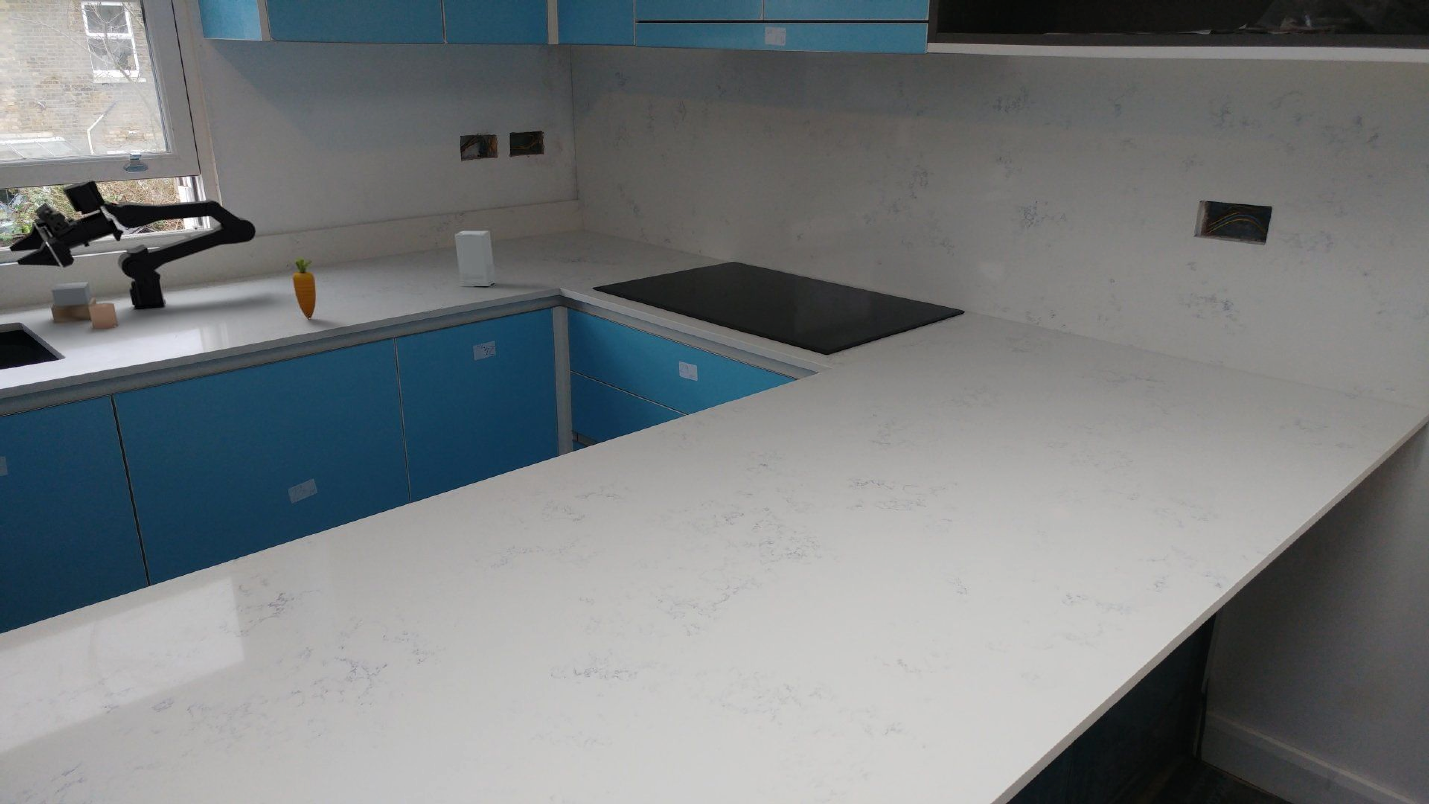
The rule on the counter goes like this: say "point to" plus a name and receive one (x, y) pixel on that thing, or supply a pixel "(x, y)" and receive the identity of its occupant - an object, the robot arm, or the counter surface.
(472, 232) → the skincare box
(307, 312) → the carrot
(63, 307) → the walnut slab
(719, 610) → the counter surface
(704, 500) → the counter surface
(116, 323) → the terracotta cylinder
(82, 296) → the slate slab
